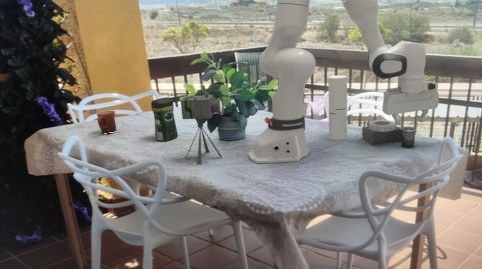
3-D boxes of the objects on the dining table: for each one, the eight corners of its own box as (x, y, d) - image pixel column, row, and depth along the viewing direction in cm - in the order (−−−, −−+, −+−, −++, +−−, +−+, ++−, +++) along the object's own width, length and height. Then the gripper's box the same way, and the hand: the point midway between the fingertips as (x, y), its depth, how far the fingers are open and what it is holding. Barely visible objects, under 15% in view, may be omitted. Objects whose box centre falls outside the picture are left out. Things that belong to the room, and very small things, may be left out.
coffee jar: (169, 134, 188) (164, 95, 182) (180, 137, 182) (176, 96, 177) (152, 140, 181) (147, 99, 176) (163, 142, 176) (158, 101, 170)
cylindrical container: (347, 140, 162) (347, 77, 155) (329, 140, 163) (328, 78, 156) (346, 134, 168) (346, 75, 161) (328, 135, 170) (328, 75, 163)
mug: (105, 130, 204) (101, 110, 201) (121, 130, 203) (118, 110, 200) (93, 137, 193) (89, 116, 190) (110, 137, 191) (106, 116, 188)
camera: (180, 165, 146) (172, 98, 139) (190, 151, 161) (184, 90, 154) (222, 165, 144) (216, 96, 137) (229, 151, 159) (224, 88, 152)
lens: (405, 149, 147) (406, 130, 145) (398, 145, 151) (399, 127, 149) (417, 147, 147) (418, 129, 145) (410, 144, 152) (410, 126, 150)
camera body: (373, 145, 153) (373, 128, 151) (361, 138, 162) (361, 121, 160) (402, 142, 154) (403, 124, 152) (389, 135, 164) (390, 118, 162)
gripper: (388, 90, 139) (387, 129, 143) (442, 83, 142) (440, 121, 146) (379, 87, 145) (379, 124, 149) (431, 81, 148) (429, 117, 152)
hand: (409, 123), depth 147 cm, fingers open, 8 cm apart
